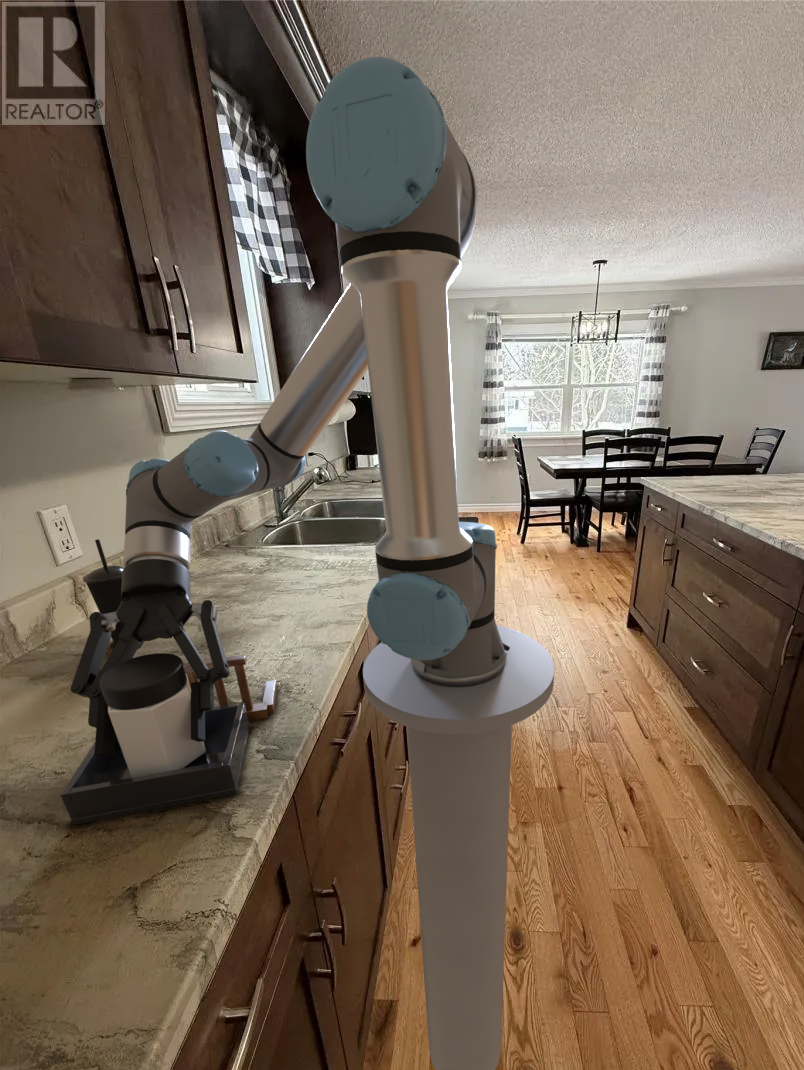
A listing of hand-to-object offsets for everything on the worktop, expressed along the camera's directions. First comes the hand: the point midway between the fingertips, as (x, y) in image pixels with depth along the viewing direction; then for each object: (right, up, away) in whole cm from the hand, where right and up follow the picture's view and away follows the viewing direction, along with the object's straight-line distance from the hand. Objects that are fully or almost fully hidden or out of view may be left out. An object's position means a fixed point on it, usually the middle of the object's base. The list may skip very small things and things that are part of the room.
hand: (152, 747), depth 54 cm
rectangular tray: (-1, -4, +5) cm, 7 cm away
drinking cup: (-29, +9, +39) cm, 49 cm away
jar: (-1, -2, +4) cm, 5 cm away
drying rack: (-2, 0, +16) cm, 16 cm away
